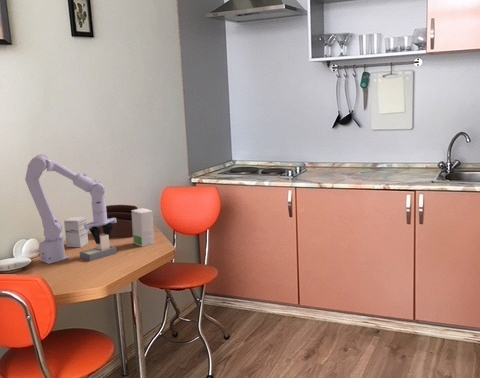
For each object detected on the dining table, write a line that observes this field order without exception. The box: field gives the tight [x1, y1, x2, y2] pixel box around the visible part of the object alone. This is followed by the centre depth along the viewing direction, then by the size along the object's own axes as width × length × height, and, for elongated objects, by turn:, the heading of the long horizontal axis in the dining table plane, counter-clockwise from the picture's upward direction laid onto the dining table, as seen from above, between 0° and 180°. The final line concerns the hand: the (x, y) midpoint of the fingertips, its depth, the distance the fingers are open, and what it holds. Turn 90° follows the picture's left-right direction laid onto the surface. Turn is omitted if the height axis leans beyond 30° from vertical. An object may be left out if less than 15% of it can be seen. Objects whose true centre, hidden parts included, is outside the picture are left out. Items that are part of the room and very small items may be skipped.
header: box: [79, 245, 118, 262], centre depth 229 cm, size 13×8×3 cm, turn 137°
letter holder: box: [97, 204, 139, 238], centre depth 262 cm, size 10×20×14 cm, turn 81°
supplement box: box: [63, 216, 89, 248], centre depth 246 cm, size 7×7×13 cm
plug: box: [95, 234, 111, 251], centre depth 230 cm, size 4×4×7 cm
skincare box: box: [131, 207, 155, 247], centre depth 242 cm, size 8×7×16 cm
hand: (102, 242), depth 230 cm, fingers closed on plug, 4 cm apart
